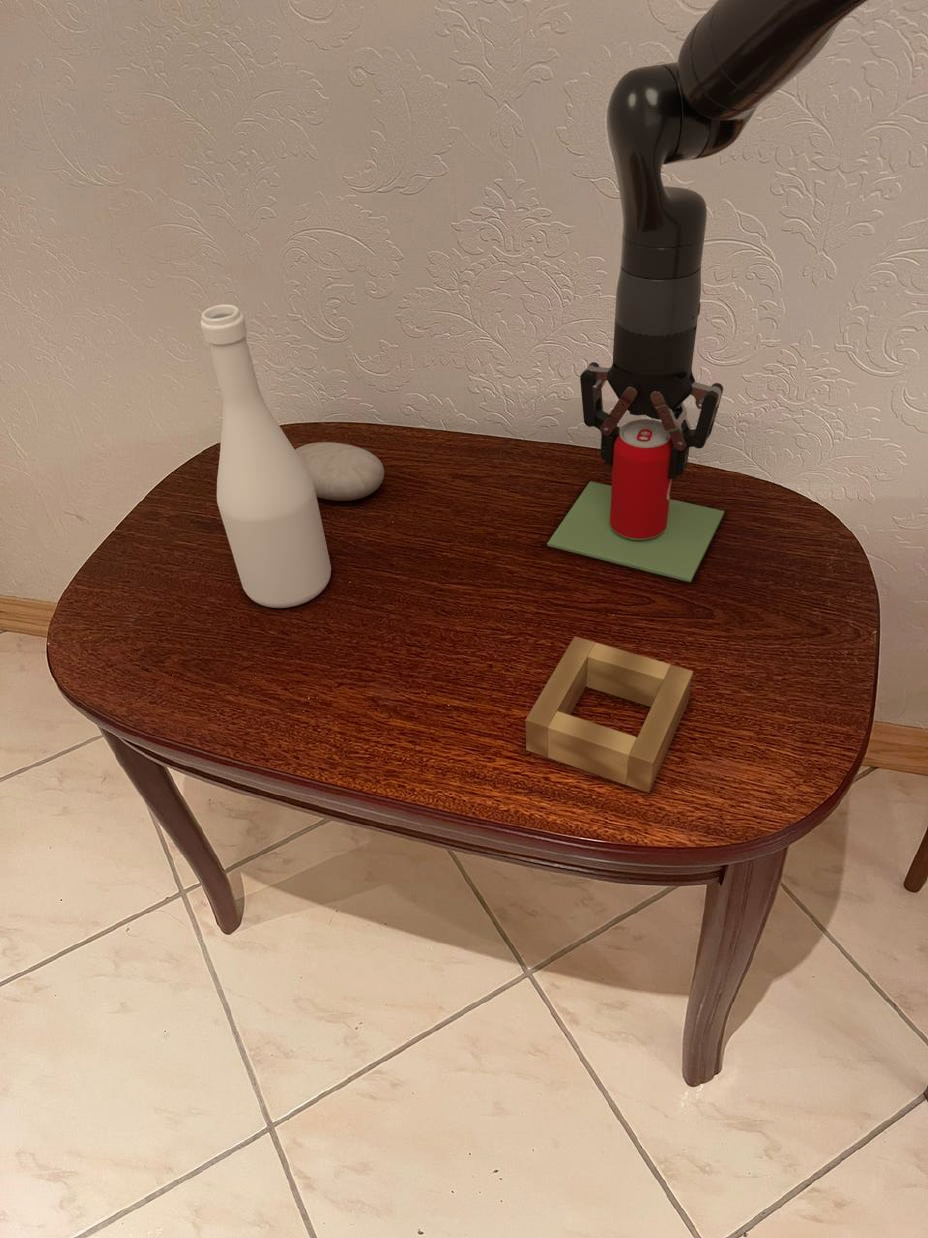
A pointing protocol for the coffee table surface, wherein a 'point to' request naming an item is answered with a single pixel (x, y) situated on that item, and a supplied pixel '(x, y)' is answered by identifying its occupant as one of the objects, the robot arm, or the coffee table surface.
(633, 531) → the beverage can
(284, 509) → the wine bottle
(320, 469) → the decorative stone
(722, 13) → the robot arm
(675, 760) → the coffee table surface
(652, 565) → the pad
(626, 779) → the stand
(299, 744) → the coffee table surface
